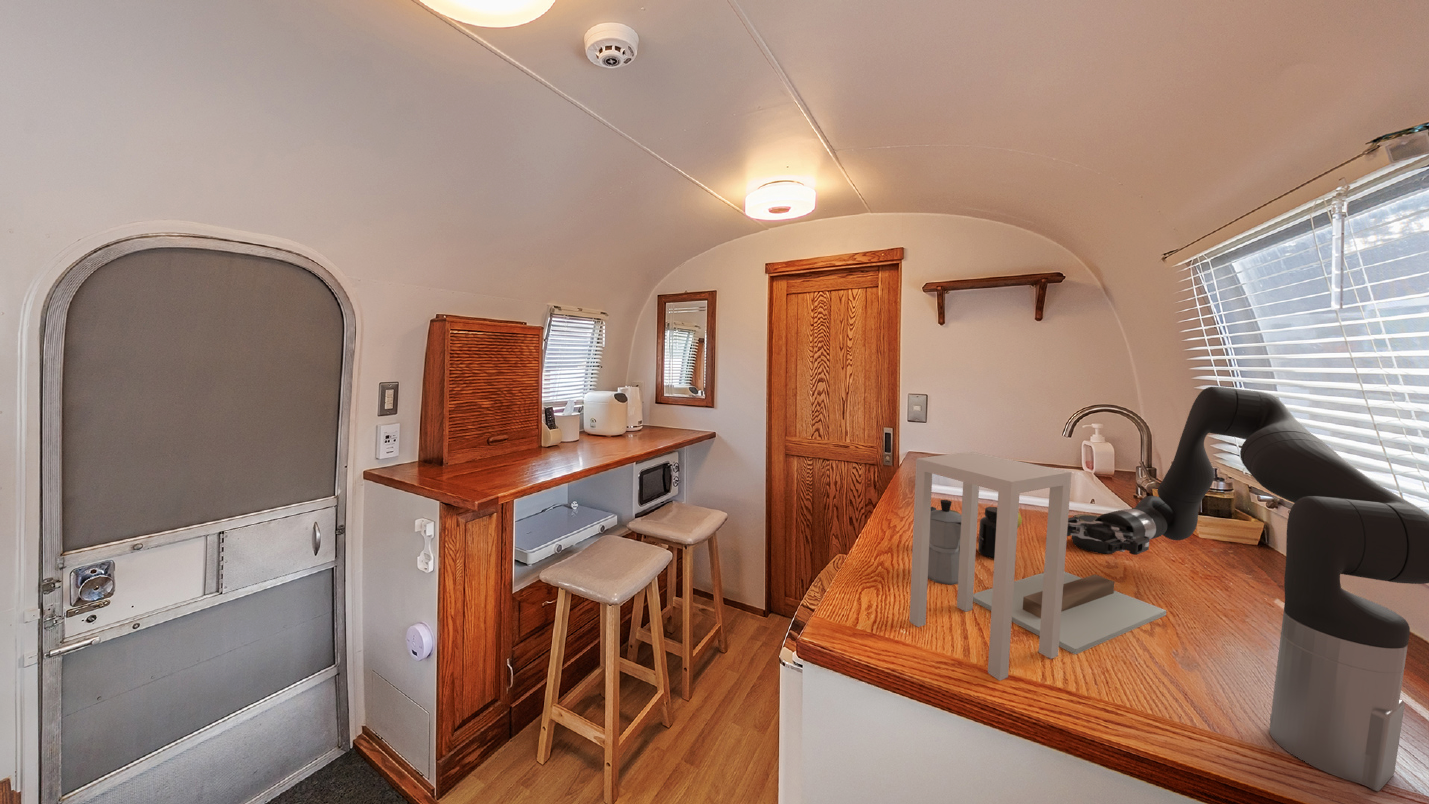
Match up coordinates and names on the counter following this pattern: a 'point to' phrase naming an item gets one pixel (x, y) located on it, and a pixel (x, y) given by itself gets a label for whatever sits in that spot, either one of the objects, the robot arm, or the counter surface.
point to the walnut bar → (1073, 594)
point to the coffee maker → (944, 544)
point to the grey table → (1009, 484)
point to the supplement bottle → (988, 533)
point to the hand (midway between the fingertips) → (1081, 539)
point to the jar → (1088, 543)
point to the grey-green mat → (1080, 614)
